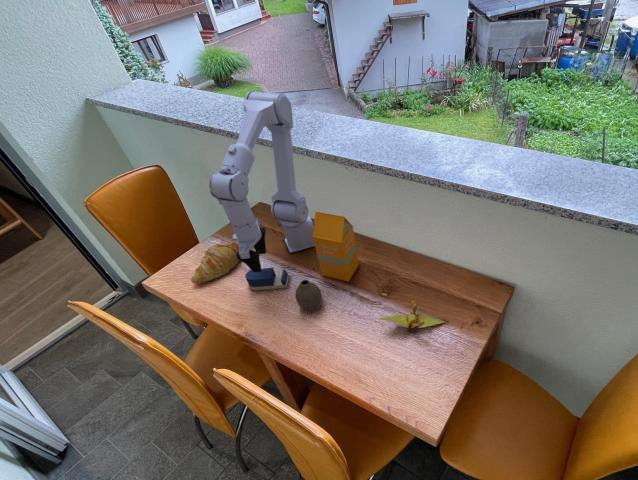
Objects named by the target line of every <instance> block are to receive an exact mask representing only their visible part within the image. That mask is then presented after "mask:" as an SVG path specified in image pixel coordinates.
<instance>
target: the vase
mask: <svg viewBox="0 0 638 480" xmlns="http://www.w3.org/2000/svg"><path fill="white" fill-rule="evenodd" d="M294 293H295V294H294V295H295V301H296V303H297V305H298V306H299V307H300V308H301V309H302V310H305V311H314V310H317V309H318V308H319V307H320V306H321V304H322V303H323V293H322V290H321V289H320V287H319V286H318V285H317V284H316V283H314V282H312V281H310V280H309V279H302V280H301V281H300V282H299V284H298V286H297V287H296V289H295V292H294Z"/></svg>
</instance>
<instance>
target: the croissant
mask: <svg viewBox="0 0 638 480" xmlns="http://www.w3.org/2000/svg"><path fill="white" fill-rule="evenodd" d="M237 251H239V246H238V242H237V240H234V241H232V242H231V243H223V244H215V245H212V246H209V247H208V248H207V249H206V250H205V255H204V256H202V258H201V260H200V264H199V265H198V267H197V268H195V270H194V275H193V276H191V278H190V282H191V283H193V284H201V283H205V282H208V281H211V280H213V279H216V278H219V277H221V276H223V275H226V274H229V273H230V271H231V270H232V269H233V268H235V267H236V266H237V265H238V263H239V262H240V260H239V259H237V257H236V254H237Z"/></svg>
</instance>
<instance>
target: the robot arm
mask: <svg viewBox="0 0 638 480" xmlns="http://www.w3.org/2000/svg"><path fill="white" fill-rule="evenodd" d="M242 106H243V110H244V111H243V112H244V118H243V121H242V125H241V129H240V131H239V135H238V138H237V142H236V143H233V144H230V145H229V146H228V149H227V151H226V154H225V156H224V157H223V161H222V163H221V166H220V168H219V171H218V172H215V173H214V174H213V175H212V176H211V177H210V179H209V183H208V184H209V193H210V195H211V196H212V197H213V198H214V199H216V200H217V201H218V203H219V205H221V206H222V207H223V210H224V212H225V214H226V217H227V219H228V221H229V223H230V225H231V228H232V230H233V232H234V234H232V238H231V239H232V240H233V241H237V242H238V246H239V251H237V254H236V257H237V259H239V261H241V262H242V263H244V264H245V265H246V266H247V267H248V268H249V269H250V270H252V271H253V272H261V269H262V264H261V259H260V255H266V254H267V248H266V247H267V245H266V231H267V229H266V227H262V226H261V225H260V221H259V219H258V218H255V216H254V213H253V210H252V208H251V205H250V203H249V201H248V197H247V196H248V194H249V181H250V179H249V175H250V172H251V169H252V167H253V164H254V162H255V155H254V152H253V150H254V148H255V146H256V144H257V141H258V140H259V138H260V136H261V134H262V132H263V130H264V129H265V128H266V129H267V130H268V131H269V132H270V133H271V141H272V150H273V159H274V168H275V176H276V177H275V178H276V187H277V191H276V192H275V193H274V194H272V196H271V206H270V212H271V213H270V214H271V216H272V217H273V218H274V220H277V221H278V223H279V224H280V225H281V228H282V230H283V234H284V236H285V238H284V242H285V244H286V246H287V248H288V251H289V253H290V254H293V253H295V252H299V251H303V250H306V249H310V248H313V247H315V244H314V240H313V231H314V222H313V221H312V218H311V216H310V215H309V208H308V205H307V200H306V199H307V198H306V196H305V195H303V194H302V193H301V192H299V191H298V190H297V184H296V174H295V162H294V151H293V150H294V149H293V138H292V137H293V136H292V129H293V128H294V122H293V121H294V119H293V118H294V117H293V106H292V102H291V100H290V99H289V98H288V97H287V95H286V94H285V93H282V92H277V93H276V92H262V91H254V90H249V91H247V92H246V94H245V97H244V101H243V102H242ZM260 226H261V227H260ZM253 248H254V250H253Z"/></svg>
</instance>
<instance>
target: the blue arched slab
mask: <svg viewBox="0 0 638 480" xmlns="http://www.w3.org/2000/svg"><path fill="white" fill-rule="evenodd" d="M244 275H245V276H244V277H245V279H246V281H247V284H248V286H249V288H250V289H251V290H252V291H263V290H275V289H276V290H277V289H287V288H288V284H289V278H290V276H289V274H288V271H287V269H283V270H282V272H281V274H276V271H275V269H274V267H264V268H262V267H261V272H253V271H252V270H251V269H250V270H248V271H247V272H246V273H245V274H244Z"/></svg>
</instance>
